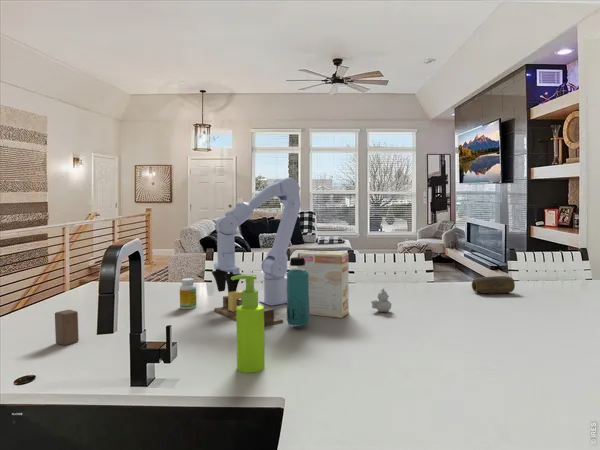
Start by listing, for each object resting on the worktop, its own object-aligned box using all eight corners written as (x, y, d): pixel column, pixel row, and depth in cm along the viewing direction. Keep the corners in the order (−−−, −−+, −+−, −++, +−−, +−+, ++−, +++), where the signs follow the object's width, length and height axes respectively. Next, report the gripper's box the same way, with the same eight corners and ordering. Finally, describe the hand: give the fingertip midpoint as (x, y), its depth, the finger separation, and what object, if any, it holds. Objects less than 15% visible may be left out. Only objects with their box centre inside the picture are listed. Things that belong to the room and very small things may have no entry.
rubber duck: (394, 313, 138) (394, 288, 137) (374, 314, 137) (374, 289, 136) (388, 309, 143) (388, 285, 143) (368, 310, 142) (368, 285, 142)
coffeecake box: (349, 313, 138) (349, 252, 137) (341, 318, 132) (341, 254, 131) (306, 308, 145) (306, 250, 144) (297, 313, 138) (296, 252, 137)
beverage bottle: (312, 325, 124) (312, 256, 123) (305, 332, 118) (305, 259, 117) (291, 323, 126) (290, 255, 125) (283, 330, 120) (282, 258, 119)
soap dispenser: (233, 363, 96) (231, 273, 95) (264, 362, 96) (263, 272, 95) (231, 373, 90) (229, 277, 89) (264, 372, 90) (263, 277, 89)
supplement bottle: (192, 309, 143) (191, 280, 143) (177, 309, 145) (176, 280, 144) (199, 306, 149) (198, 278, 148) (184, 305, 150) (184, 277, 149)
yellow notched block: (228, 309, 138) (228, 292, 138) (244, 306, 142) (244, 289, 142) (232, 311, 136) (232, 293, 136) (249, 308, 140) (249, 291, 139)
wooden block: (63, 346, 108) (62, 314, 107) (55, 343, 110) (53, 312, 109) (79, 341, 111) (78, 310, 111) (70, 339, 113) (69, 309, 113)
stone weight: (505, 291, 171) (505, 274, 171) (516, 294, 164) (516, 277, 164) (469, 292, 170) (469, 275, 169) (478, 296, 163) (479, 278, 162)
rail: (214, 310, 142) (214, 297, 142) (241, 306, 148) (240, 293, 148) (253, 328, 122) (253, 312, 122) (282, 322, 128) (282, 307, 128)
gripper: (205, 251, 148) (206, 291, 149) (225, 255, 137) (226, 298, 137) (224, 250, 152) (224, 288, 153) (244, 253, 141) (245, 295, 141)
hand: (226, 292), depth 145 cm, fingers open, 7 cm apart
